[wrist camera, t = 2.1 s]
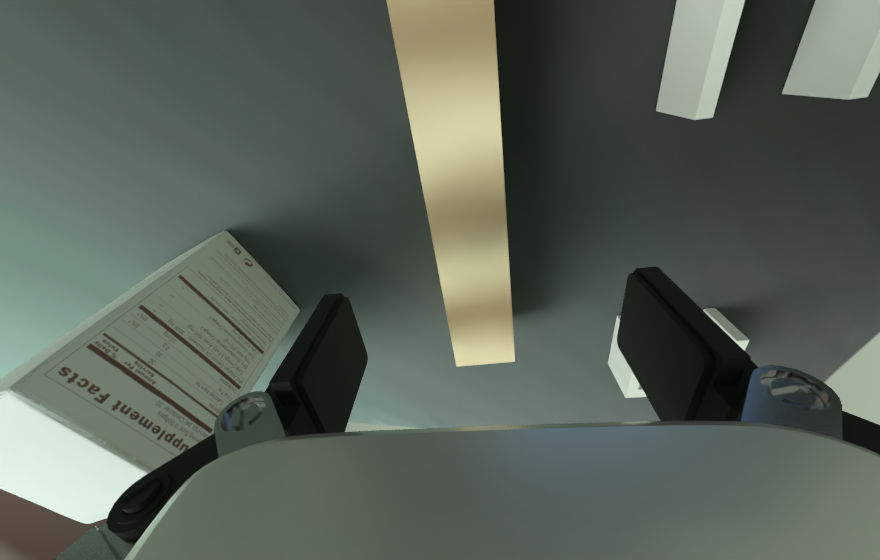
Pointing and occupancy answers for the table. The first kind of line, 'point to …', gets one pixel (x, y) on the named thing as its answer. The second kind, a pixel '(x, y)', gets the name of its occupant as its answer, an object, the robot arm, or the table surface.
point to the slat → (460, 164)
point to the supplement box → (139, 379)
